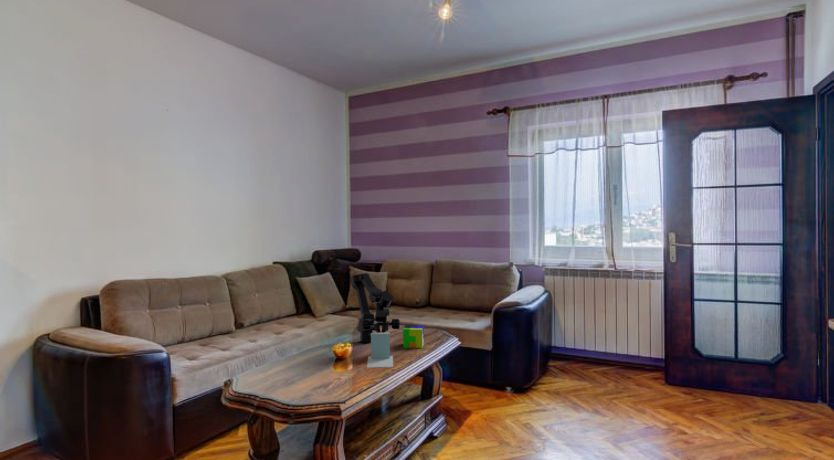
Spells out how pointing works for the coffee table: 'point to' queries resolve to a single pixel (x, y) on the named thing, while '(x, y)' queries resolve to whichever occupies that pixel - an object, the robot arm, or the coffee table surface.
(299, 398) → the coffee table surface
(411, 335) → the puzzle toy
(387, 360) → the mat
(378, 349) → the tile
